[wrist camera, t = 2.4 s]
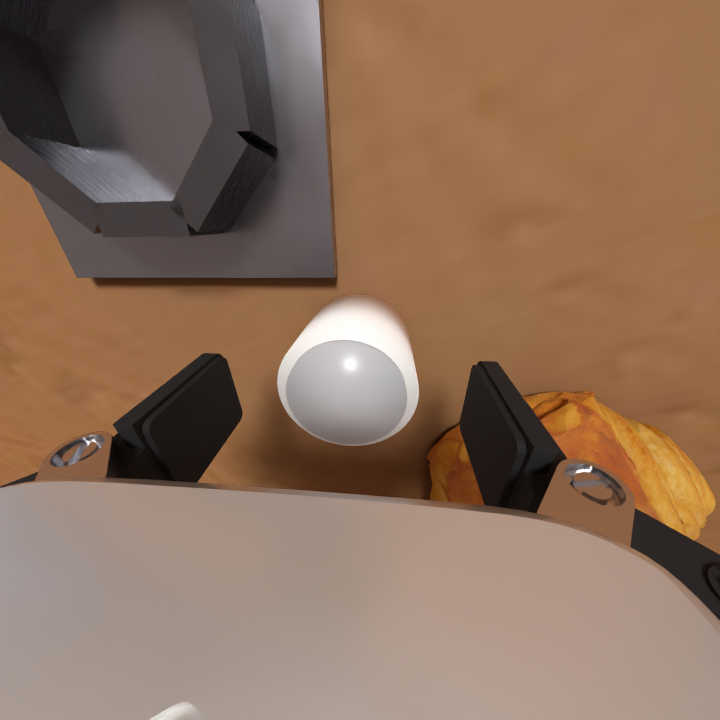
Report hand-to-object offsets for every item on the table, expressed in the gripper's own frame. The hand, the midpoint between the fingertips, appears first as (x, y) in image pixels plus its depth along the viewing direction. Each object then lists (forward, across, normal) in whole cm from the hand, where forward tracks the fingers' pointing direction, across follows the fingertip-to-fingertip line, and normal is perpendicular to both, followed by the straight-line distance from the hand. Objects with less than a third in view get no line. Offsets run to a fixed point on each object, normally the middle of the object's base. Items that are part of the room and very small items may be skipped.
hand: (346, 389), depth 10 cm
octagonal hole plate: (+6, +8, -10) cm, 14 cm away
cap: (+6, 0, +1) cm, 6 cm away
